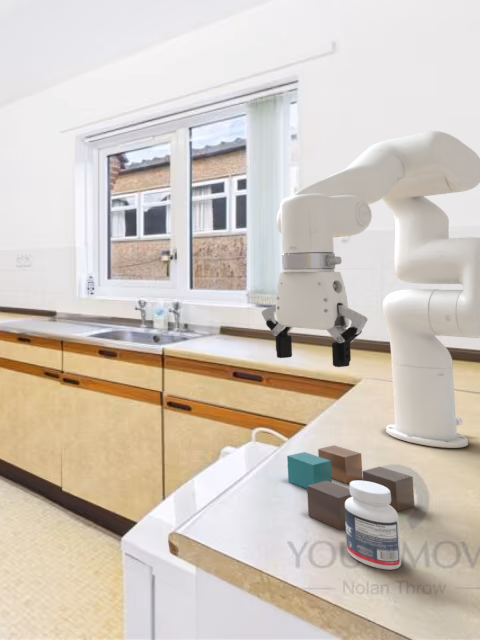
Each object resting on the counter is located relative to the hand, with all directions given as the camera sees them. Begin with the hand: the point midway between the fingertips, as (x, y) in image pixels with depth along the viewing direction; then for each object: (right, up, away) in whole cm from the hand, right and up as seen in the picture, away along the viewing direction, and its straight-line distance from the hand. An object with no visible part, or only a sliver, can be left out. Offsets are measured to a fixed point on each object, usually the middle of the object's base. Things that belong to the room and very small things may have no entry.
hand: (311, 361), depth 84 cm
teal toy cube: (-2, -20, -3) cm, 21 cm away
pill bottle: (-9, -20, -24) cm, 32 cm away
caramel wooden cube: (+5, -20, 0) cm, 21 cm away
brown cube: (-7, -20, -14) cm, 25 cm away
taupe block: (+5, -20, -10) cm, 23 cm away
